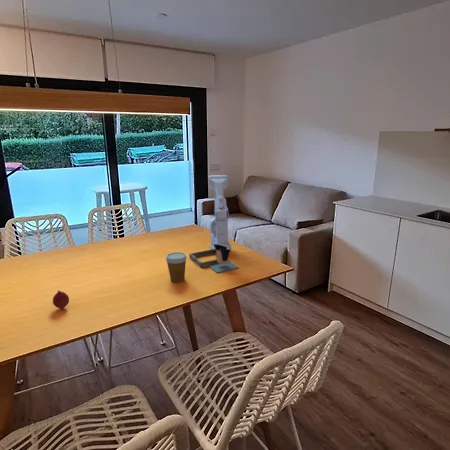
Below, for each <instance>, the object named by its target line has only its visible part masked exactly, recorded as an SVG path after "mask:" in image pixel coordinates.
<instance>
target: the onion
mask: <svg viewBox="0 0 450 450" xmlns="http://www.w3.org/2000/svg"><path fill="white" fill-rule="evenodd" d="M69 302H70V297H69V295H68V294H67V293H65V292H64V291H62V290H60V289H58V290H57V293H55V295H54V296H53V297H52V305H53V306H54V307H55V308H58V309H61V310H63V309H64V308H66V307H67V306H68V304H69Z"/></svg>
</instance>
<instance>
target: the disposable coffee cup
mask: <svg viewBox="0 0 450 450" xmlns="http://www.w3.org/2000/svg"><path fill="white" fill-rule="evenodd" d="M187 257H188V256H187V255H186V253H184V252H177V251H175V252H171V253H168V254H167V255H166V257H165V261H166V265H167V269H168V273H169V278H170V282H171V283H181V282H185V277H186V263H187Z"/></svg>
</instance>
